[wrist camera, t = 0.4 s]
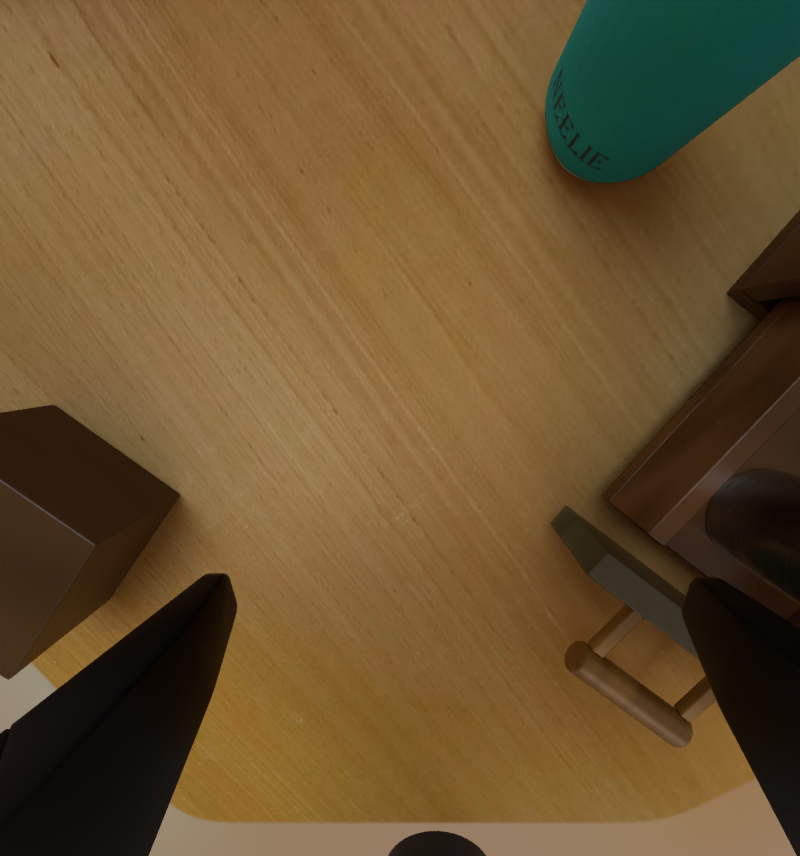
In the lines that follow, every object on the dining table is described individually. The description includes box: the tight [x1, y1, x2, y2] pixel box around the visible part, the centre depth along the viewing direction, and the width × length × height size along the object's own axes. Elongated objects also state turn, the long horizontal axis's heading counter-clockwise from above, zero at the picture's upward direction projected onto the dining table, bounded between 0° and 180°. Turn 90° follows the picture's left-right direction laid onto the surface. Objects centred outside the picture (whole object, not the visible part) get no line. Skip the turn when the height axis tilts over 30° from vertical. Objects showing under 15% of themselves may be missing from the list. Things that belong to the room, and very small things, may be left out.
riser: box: [0, 405, 179, 679], centre depth 20 cm, size 8×8×6 cm
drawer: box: [551, 296, 800, 747], centre depth 18 cm, size 19×13×5 cm
